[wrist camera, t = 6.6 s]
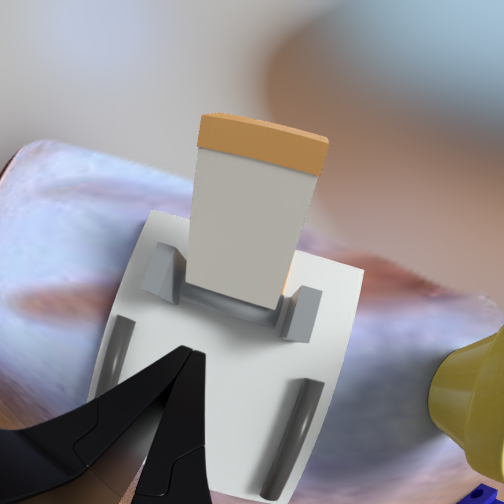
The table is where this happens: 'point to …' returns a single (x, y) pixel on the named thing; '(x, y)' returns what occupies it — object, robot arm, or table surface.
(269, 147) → the lever
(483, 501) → the cable clip
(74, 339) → the table surface
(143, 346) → the white base plate
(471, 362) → the plant pot
